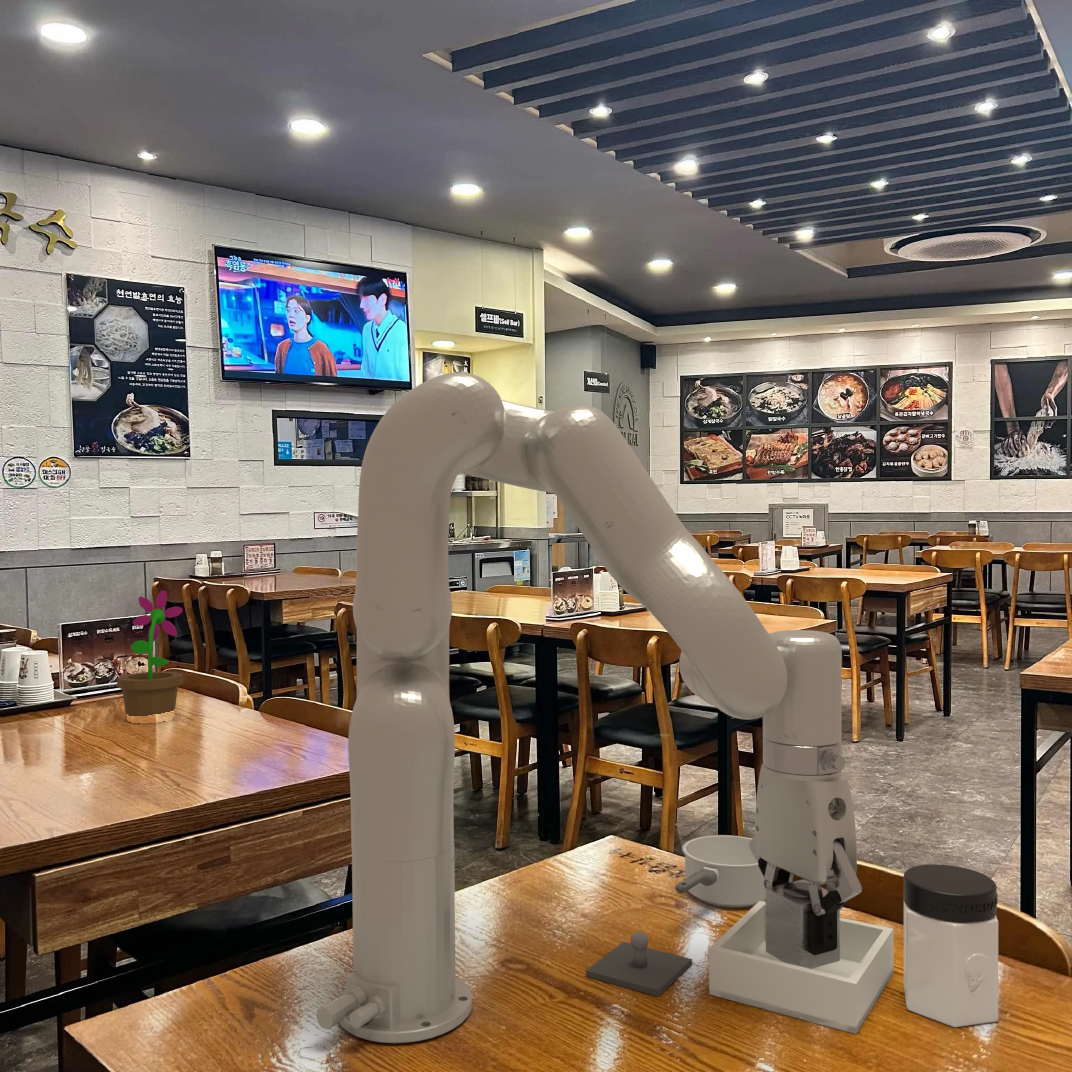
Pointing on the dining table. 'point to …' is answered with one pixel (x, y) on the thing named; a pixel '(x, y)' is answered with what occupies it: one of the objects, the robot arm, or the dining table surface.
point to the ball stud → (639, 966)
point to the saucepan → (722, 871)
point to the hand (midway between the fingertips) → (801, 938)
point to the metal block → (794, 926)
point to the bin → (803, 973)
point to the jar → (951, 944)
